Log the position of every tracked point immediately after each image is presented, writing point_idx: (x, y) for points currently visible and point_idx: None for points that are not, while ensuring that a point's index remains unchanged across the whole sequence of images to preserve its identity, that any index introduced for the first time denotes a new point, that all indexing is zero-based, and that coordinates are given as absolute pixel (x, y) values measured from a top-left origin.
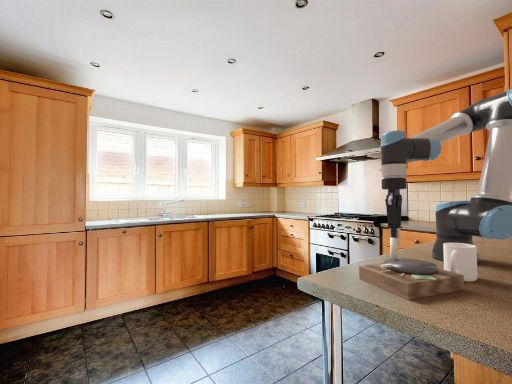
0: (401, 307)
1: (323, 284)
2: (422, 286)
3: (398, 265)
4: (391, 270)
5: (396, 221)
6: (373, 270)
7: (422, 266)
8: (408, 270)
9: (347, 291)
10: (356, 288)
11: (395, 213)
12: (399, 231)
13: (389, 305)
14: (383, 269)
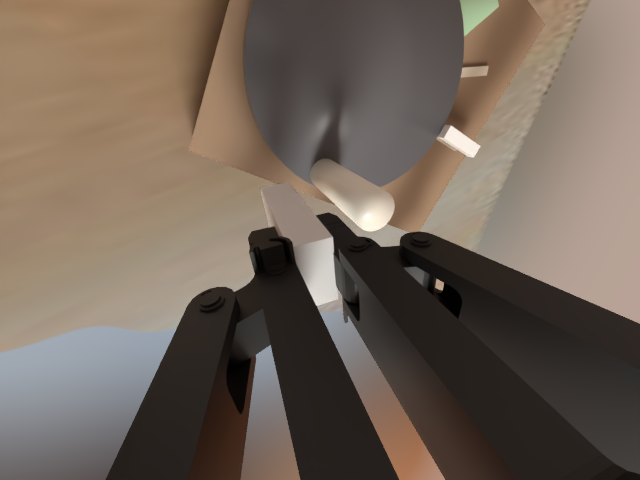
0: (546, 34)
1: (469, 243)
2: None
3: (421, 112)
4: None
5: (448, 265)
6: (445, 178)
7: (387, 3)
8: (459, 53)
9: (491, 184)
10: (466, 181)
11: (597, 324)
12: (293, 232)
13: (541, 65)
14: (419, 160)
